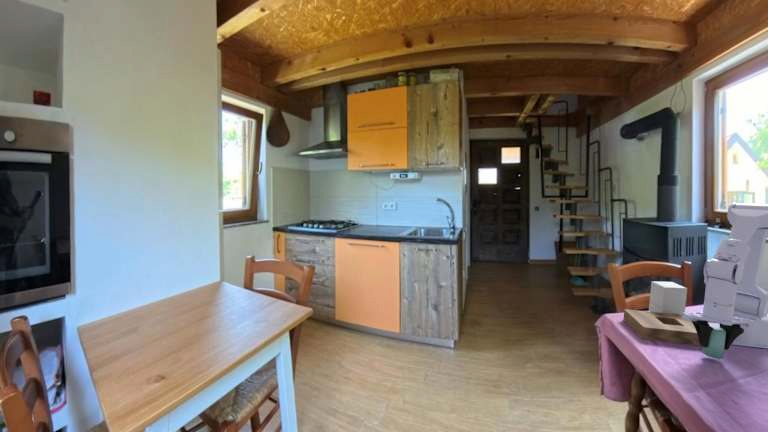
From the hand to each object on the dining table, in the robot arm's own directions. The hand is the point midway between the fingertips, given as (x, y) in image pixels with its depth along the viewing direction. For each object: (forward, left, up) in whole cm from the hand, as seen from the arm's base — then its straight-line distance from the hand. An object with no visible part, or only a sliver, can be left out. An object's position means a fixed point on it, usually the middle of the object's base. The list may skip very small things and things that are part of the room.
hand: (713, 346), depth 86 cm
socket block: (+3, -15, -4) cm, 16 cm away
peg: (0, 0, -2) cm, 2 cm away
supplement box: (-3, -29, -4) cm, 29 cm away
